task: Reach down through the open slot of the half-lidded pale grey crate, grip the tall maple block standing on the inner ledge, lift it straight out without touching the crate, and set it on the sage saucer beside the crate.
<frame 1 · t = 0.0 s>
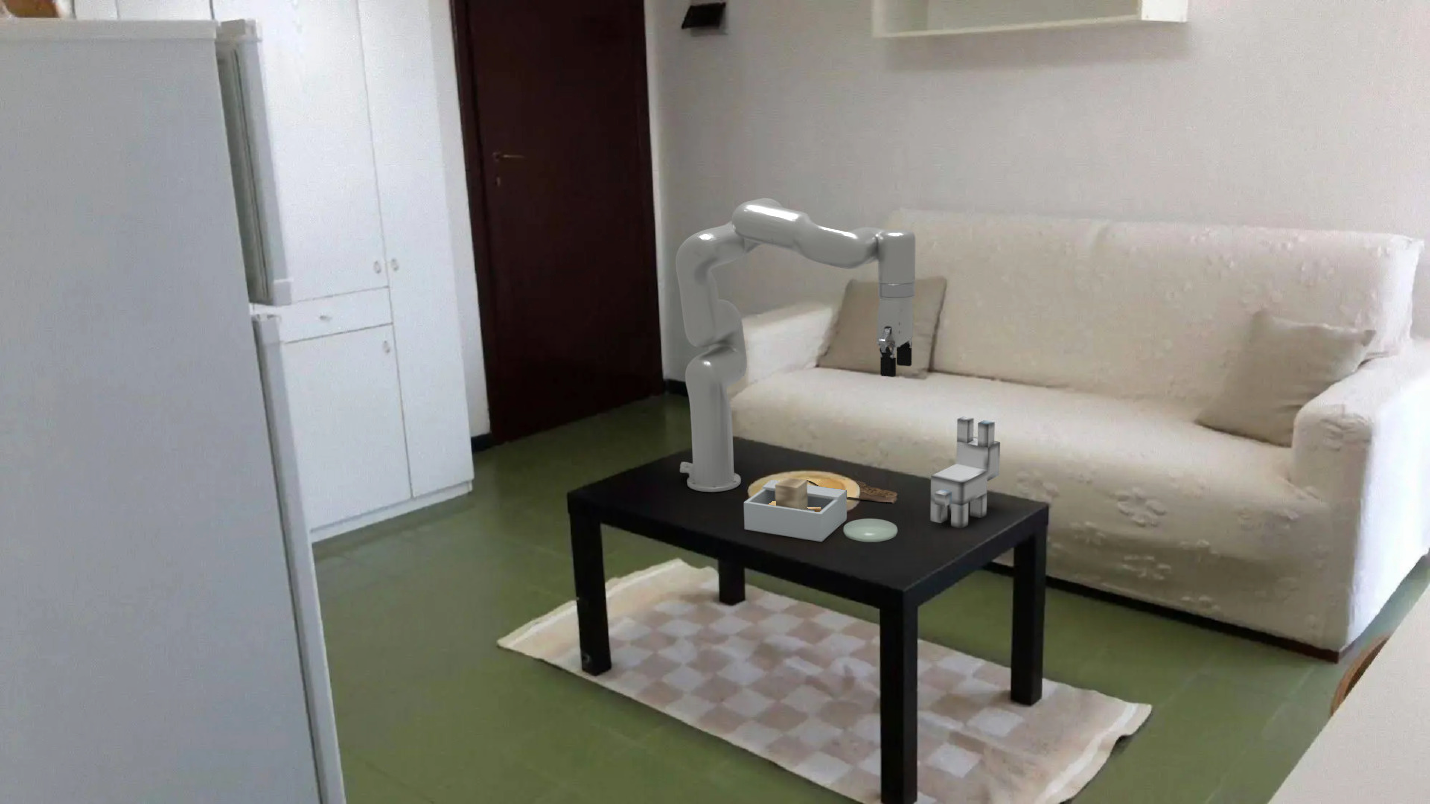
hand: (896, 370, 241), 31 cm above the table, fingers open, 9 cm apart
maple block: (791, 514, 241), point 3 cm above the table, touching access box
sage saucer: (870, 531, 238), on the table
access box: (796, 524, 244), on the table
wooden fragment: (849, 492, 263), on the table
toy llama: (961, 516, 245), on the table
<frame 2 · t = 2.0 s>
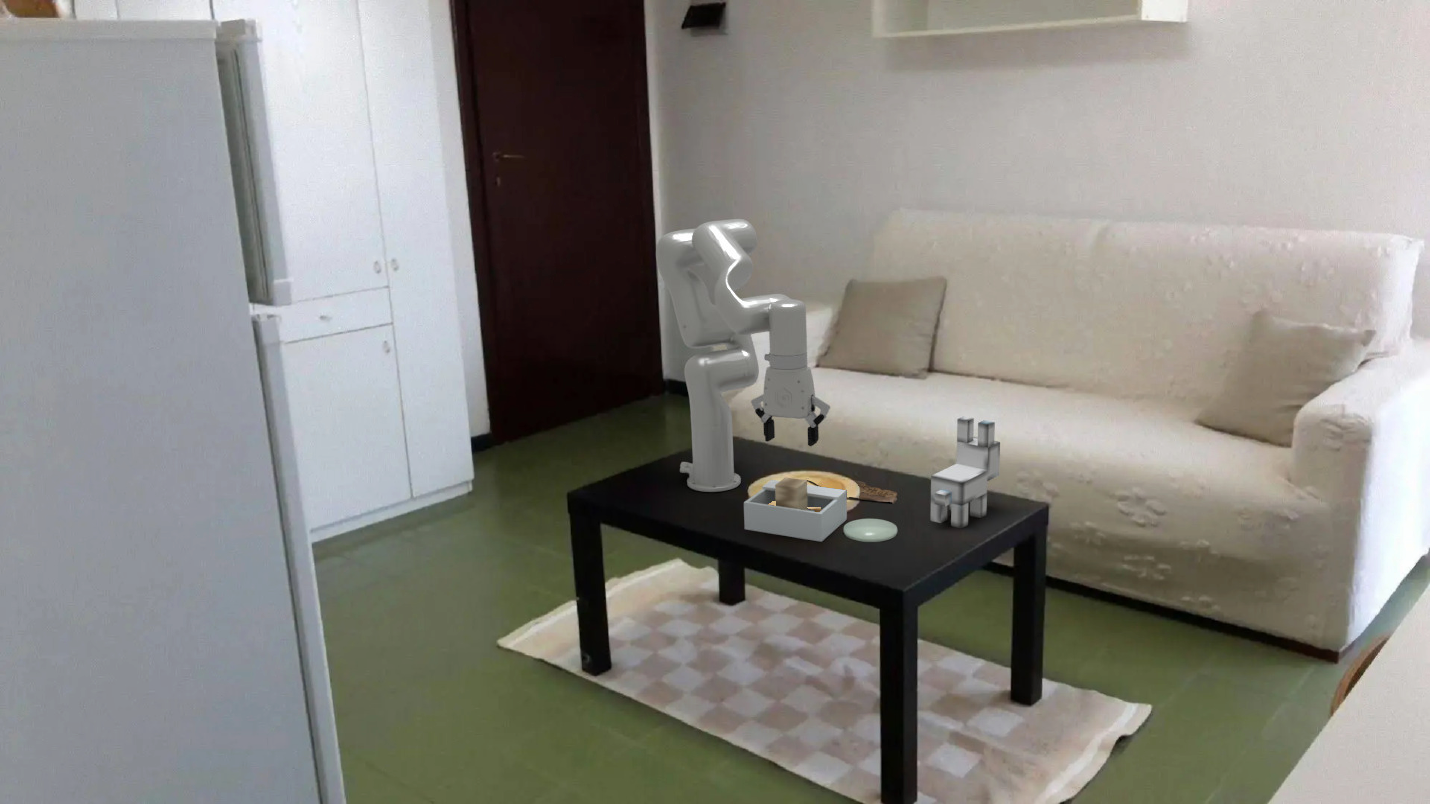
hand: (791, 442, 237), 19 cm above the table, fingers open, 9 cm apart
nothing on the table moved.
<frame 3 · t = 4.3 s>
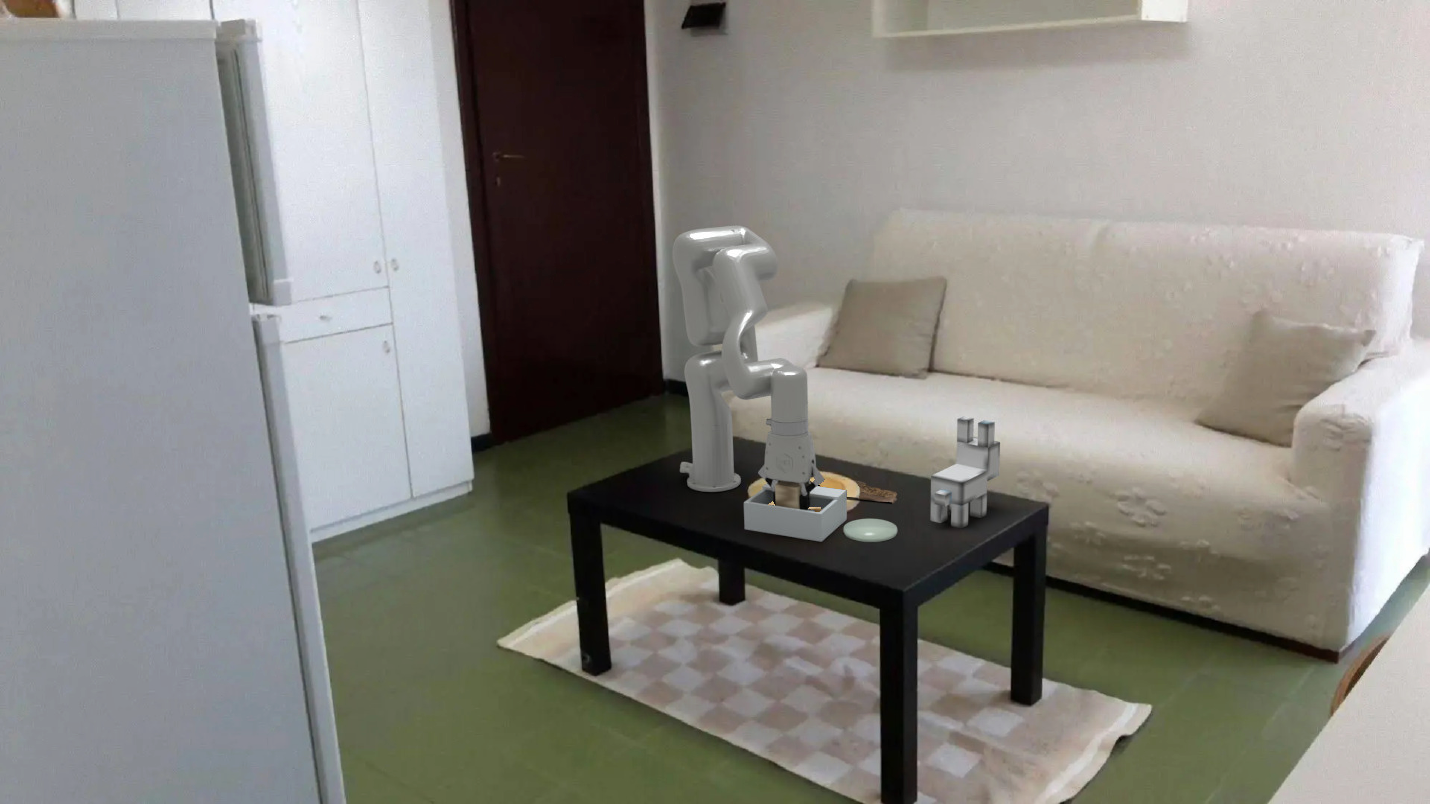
hand: (791, 508, 241), 4 cm above the table, fingers closed on maple block, 5 cm apart
maple block: (791, 514, 241), point 3 cm above the table, touching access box, gripper
everything else where it was.
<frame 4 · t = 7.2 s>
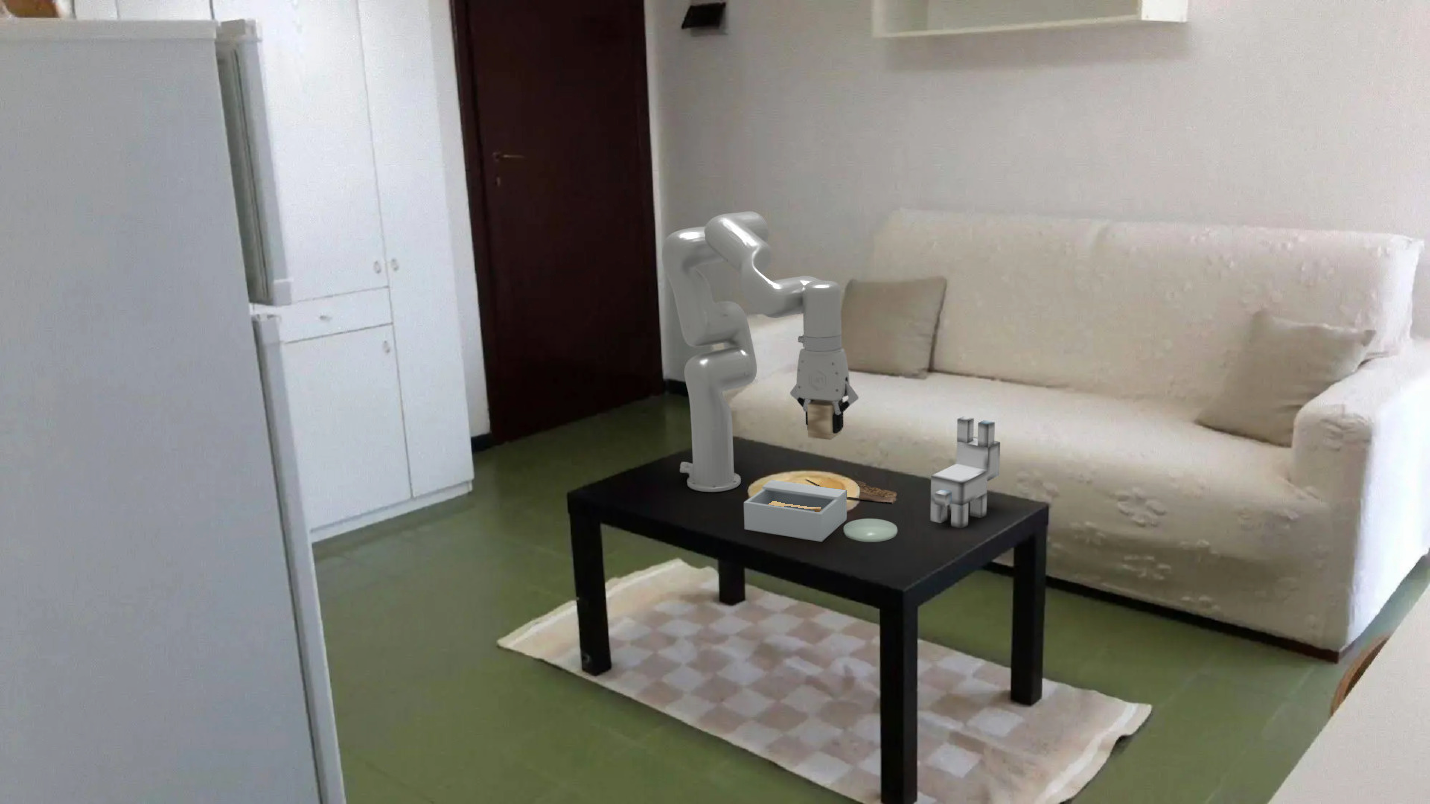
hand: (824, 429, 234), 22 cm above the table, fingers closed on maple block, 5 cm apart
maple block: (824, 435, 235), point 21 cm above the table, touching gripper
everything else where it was.
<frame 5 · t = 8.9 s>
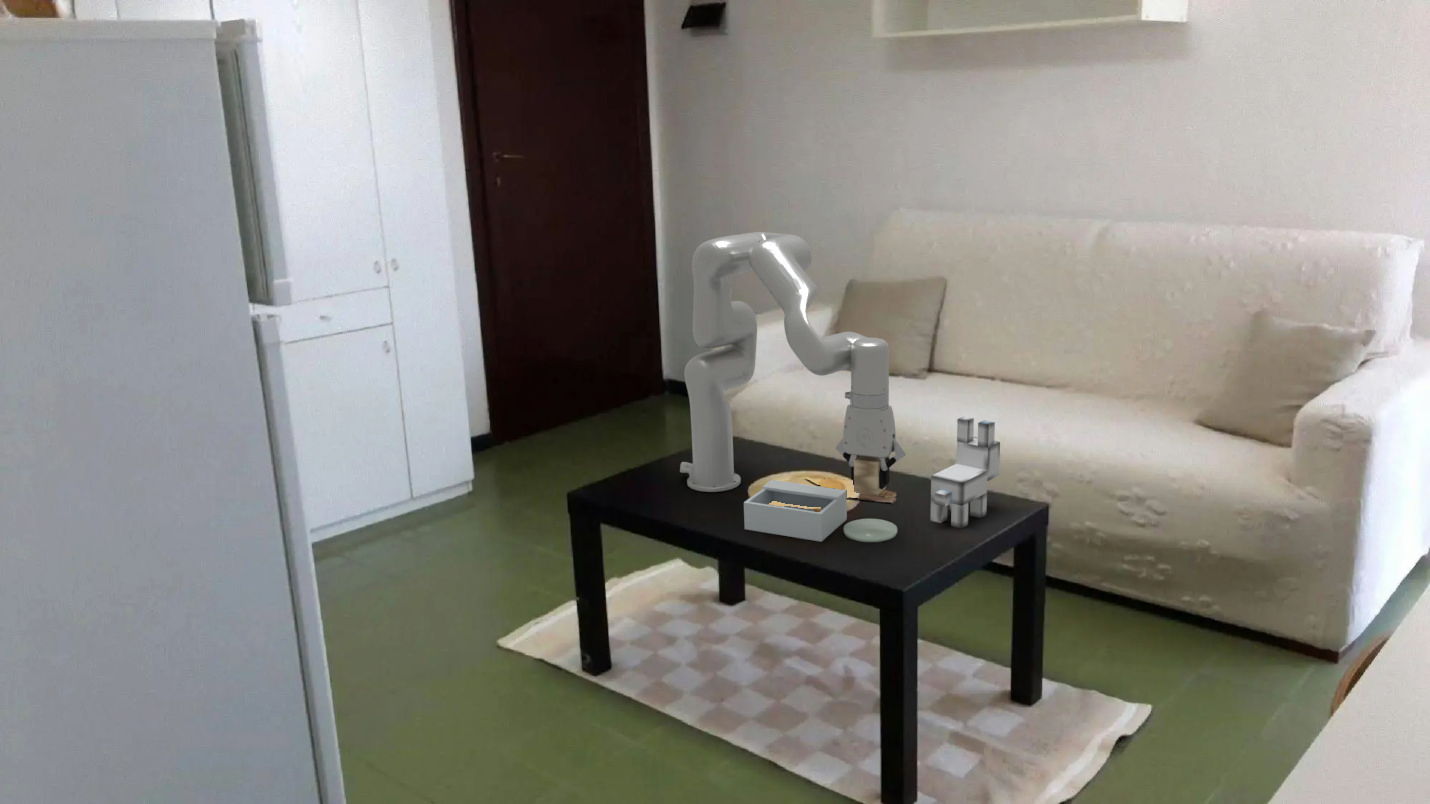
hand: (870, 484, 235), 10 cm above the table, fingers closed on maple block, 5 cm apart
maple block: (870, 490, 236), point 9 cm above the table, touching gripper
everything else where it was.
when the fingers open (4 cm above the table, at t = 10.5 s): maple block drops 2 cm, resting on sage saucer.
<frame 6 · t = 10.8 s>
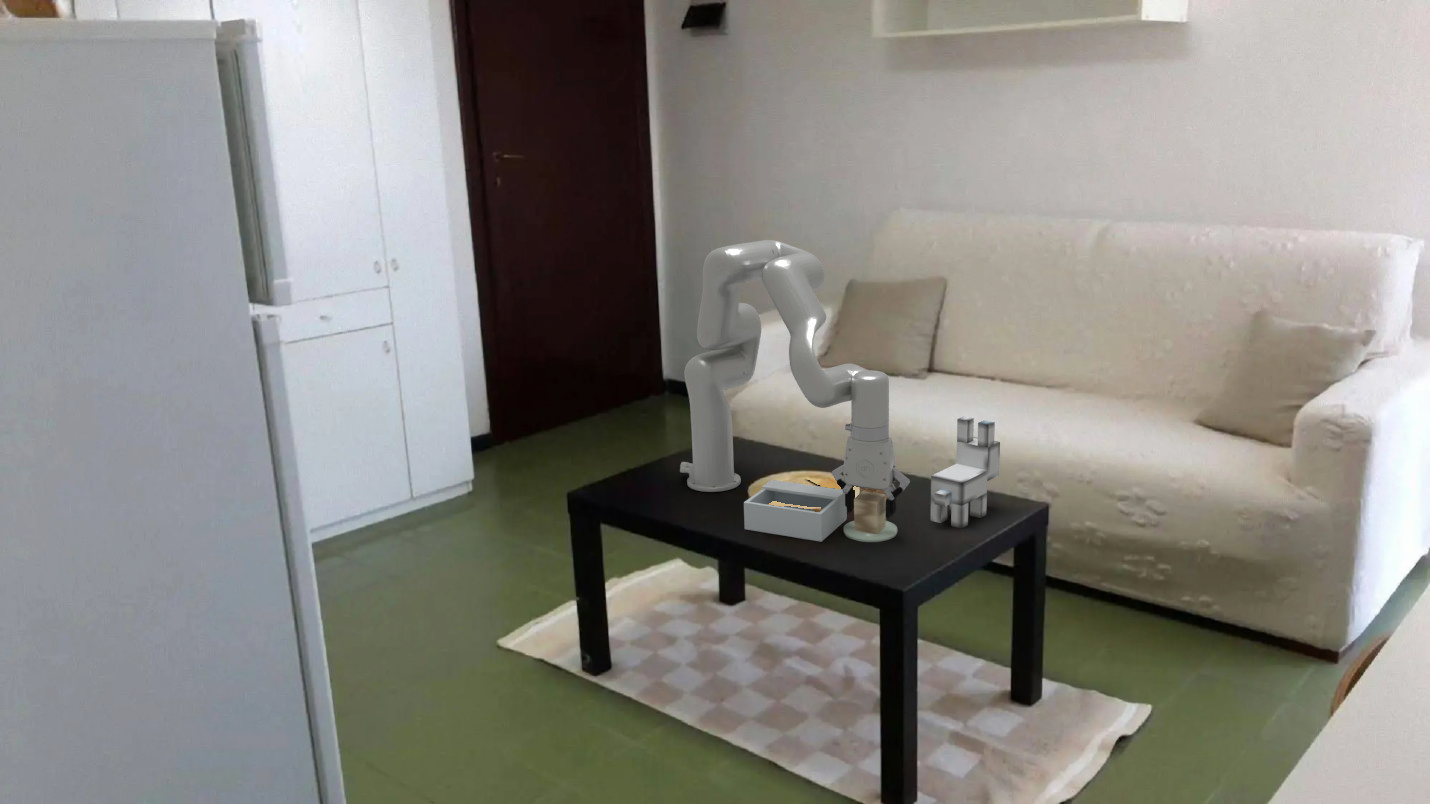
hand: (870, 512, 237), 4 cm above the table, fingers open, 8 cm apart
maple block: (870, 528, 238), point 1 cm above the table, touching sage saucer
everything else where it was.
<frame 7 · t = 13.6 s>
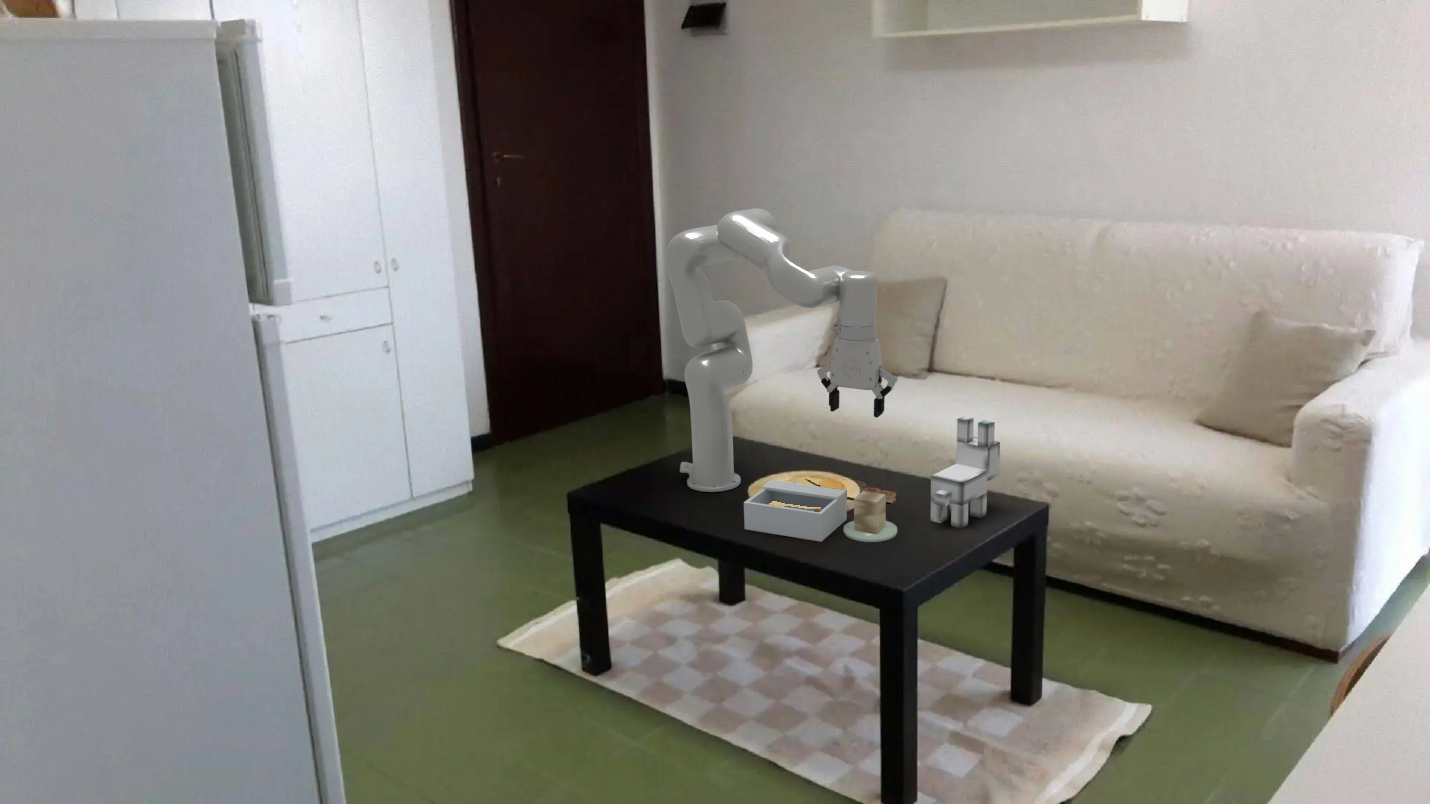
hand: (856, 412, 238), 24 cm above the table, fingers open, 9 cm apart
nothing on the table moved.
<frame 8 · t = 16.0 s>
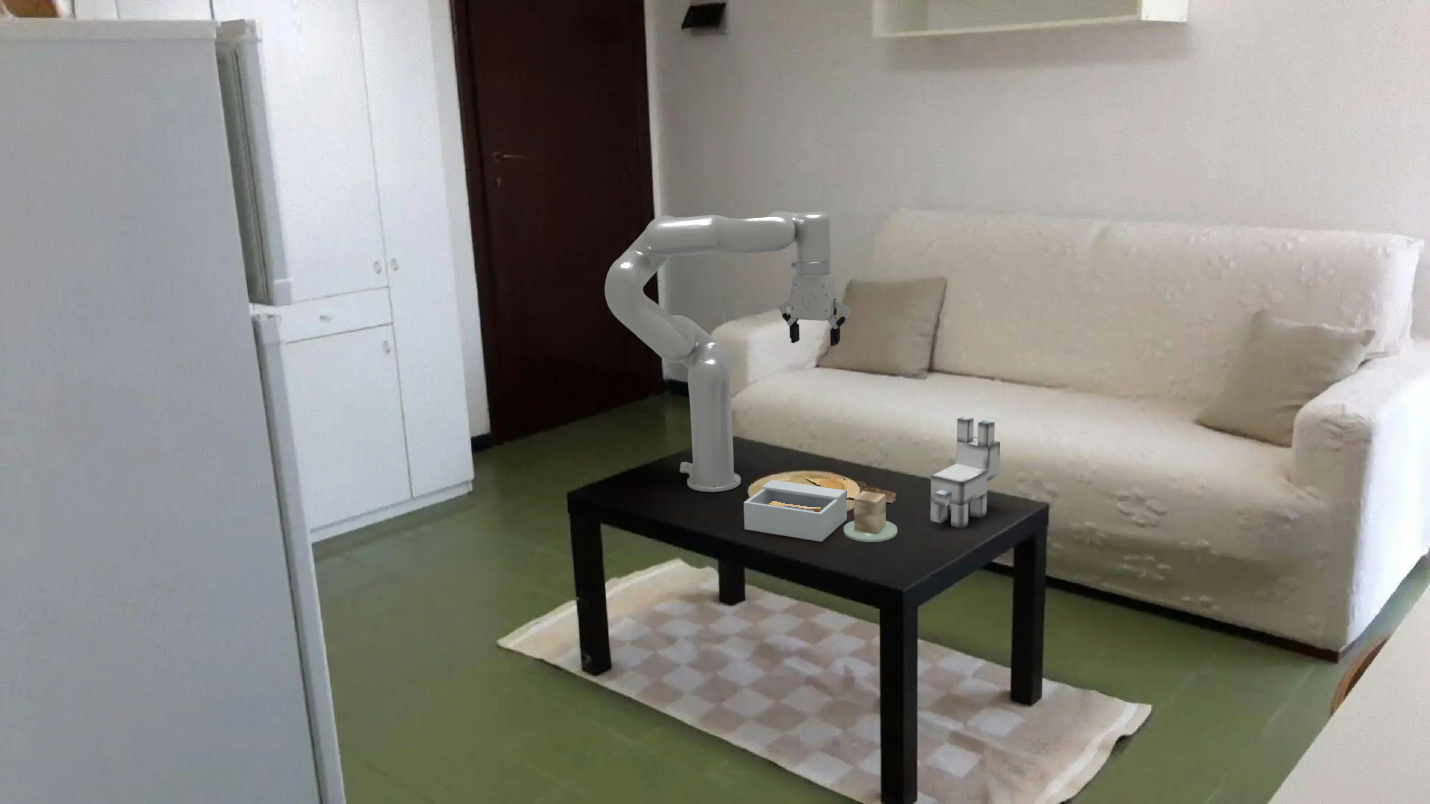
hand: (814, 343, 260), 33 cm above the table, fingers open, 9 cm apart
nothing on the table moved.
at the end: maple block 0.1 cm off-centre on the sage saucer, point 0.8 cm above the sage saucer's base; maple block tilted 0°; the gripper is holding nothing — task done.
